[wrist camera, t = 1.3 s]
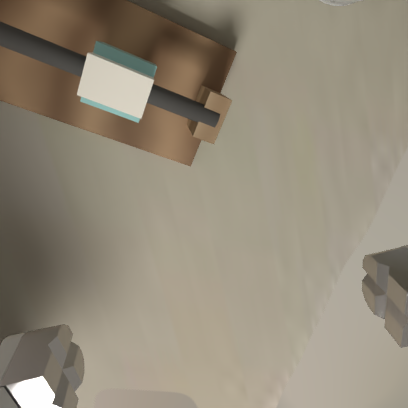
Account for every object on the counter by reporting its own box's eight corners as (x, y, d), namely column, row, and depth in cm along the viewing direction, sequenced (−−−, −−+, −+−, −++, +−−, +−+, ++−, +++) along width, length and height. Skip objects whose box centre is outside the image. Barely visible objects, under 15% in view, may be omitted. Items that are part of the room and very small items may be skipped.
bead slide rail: (220, 95, 31) (230, 101, 27) (204, 135, 32) (211, 145, 28) (-104, -41, 23) (-147, -57, 20) (-107, 16, 25) (-148, 11, 21)
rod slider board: (233, 51, 33) (252, 52, 27) (189, 162, 37) (197, 184, 31) (-71, -91, 26) (-136, -133, 20) (-86, 67, 30) (-143, 71, 24)
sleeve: (155, 64, 29) (157, 68, 23) (139, 113, 30) (137, 129, 24) (103, 41, 28) (90, 40, 22) (89, 94, 29) (73, 106, 23)
